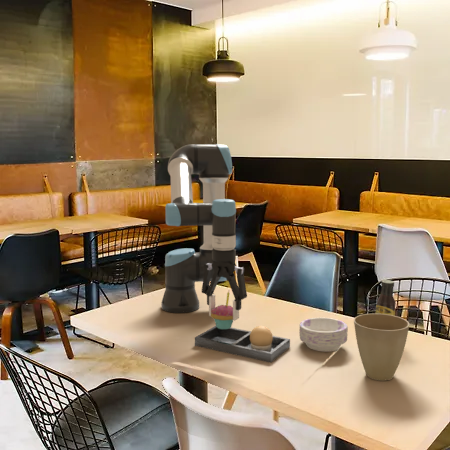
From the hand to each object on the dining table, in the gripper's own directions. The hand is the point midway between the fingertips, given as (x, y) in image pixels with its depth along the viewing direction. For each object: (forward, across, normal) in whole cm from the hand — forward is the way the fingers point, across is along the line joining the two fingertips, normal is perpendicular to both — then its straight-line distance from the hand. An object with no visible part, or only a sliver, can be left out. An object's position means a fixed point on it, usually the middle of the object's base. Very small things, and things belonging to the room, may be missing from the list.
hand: (223, 317), depth 174 cm
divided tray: (+9, +7, 0) cm, 12 cm away
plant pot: (+10, +50, +2) cm, 51 cm away
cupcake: (+4, 0, 0) cm, 4 cm away
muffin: (+9, +13, 0) cm, 16 cm away
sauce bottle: (+10, +44, +32) cm, 55 cm away
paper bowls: (+10, +29, +14) cm, 33 cm away
